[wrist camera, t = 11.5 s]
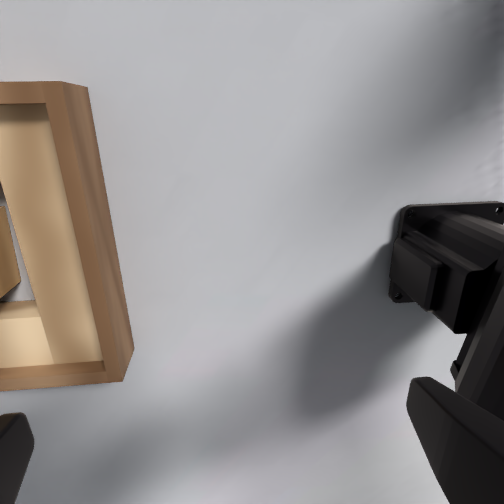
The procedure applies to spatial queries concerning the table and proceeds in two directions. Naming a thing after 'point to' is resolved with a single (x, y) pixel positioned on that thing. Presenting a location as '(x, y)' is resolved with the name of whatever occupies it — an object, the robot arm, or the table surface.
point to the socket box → (59, 244)
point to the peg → (7, 256)
